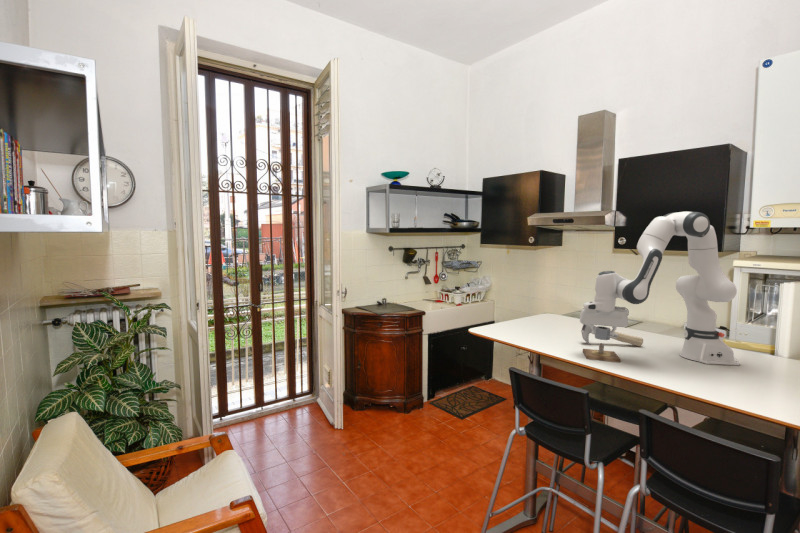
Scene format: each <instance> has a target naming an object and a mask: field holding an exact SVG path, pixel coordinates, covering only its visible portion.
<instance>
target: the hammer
mask: <svg viewBox="0 0 800 533" xmlns="http://www.w3.org/2000/svg"><path fill="white" fill-rule="evenodd" d="M595 327H597V325H594V327H593V329H594V330H595ZM610 331H612V329H610ZM580 332H581V336H582V339H583V341H584V342H586V343H587V344H588V345H589V346H591V344H590V340H589V336H590V334H592V329H591V327H590V325H589V324H582V327H581V330H580ZM610 339H612V340H616V341H618V342H621V343H626V344H628V345H629V344H630V345H632V346H636V347H642V345H643V344H644V338H643V337H640V336H635V335H629V334H627V333H622V332H618V331H616V330H615V331H614V332H613V336H610Z"/></svg>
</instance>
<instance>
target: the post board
mask: <svg viewBox="0 0 800 533" xmlns="http://www.w3.org/2000/svg"><path fill="white" fill-rule="evenodd" d="M604 348H605V345H604V343H602V342H600V343H599V345H598V349H594V348H593V349H591V348H582V353H583V354H584V356H585V358H586V360H594V361H603V362H614V363H621V361H622V359H621V357H620V356H619V355H618V354H617V353H616V352H615V351H614V350H613V351H612V350H604Z"/></svg>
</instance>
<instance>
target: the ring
mask: <svg viewBox="0 0 800 533" xmlns="http://www.w3.org/2000/svg"><path fill="white" fill-rule="evenodd" d="M595 330H596V334H594V338H595V339H597V340H601V341H608V340H609V341H610V340H611V338H610V330H611V328H610V327H609V326H601V325H596V327H595Z"/></svg>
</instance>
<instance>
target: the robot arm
mask: <svg viewBox="0 0 800 533" xmlns="http://www.w3.org/2000/svg"><path fill="white" fill-rule="evenodd" d="M673 236H678V237H686V239H687V256H688V265H689V267H691V268H692V269H693V270H695V271H696V273H697V274H698V275H697V274H688V275H681V276H680V277H679V278H678V279H676V282H675V290H676V291H677V293H678V294H679V295H680V296H681V298H683V301H684V303H685V306H686V311H687V312H686V313H687V314H686V326H685V329H684V335H683V336H684V340H683V345H682V348H681V351H680V353H679V356H681V357H682V358H685V359H688V360H692V361H695V362H699V363H702V364H707V365H726V366H727V365H728V366H730V365H731V366H740V365H741V362H740V361H739V360H738V359H736V358H735V356H734V350H733V348H732V347H731V346H729V345H728V344H726V343H725V341H723V340H721V339H720V338H724V337H725V334H724V332H720V331H718V330H716V328H717V318H718V317H717V316H718V314H717V312H716V311H715V310H714V309H712V308H711V306H710V305H709V303H708V302H712V303H713V302H714V303H729V302H731V301H732V300H733V299H734V298H735V297H736V295H737V286H736V284H735V283H734V282H733V281H732V280H730V279H729V278H728V277H727V276H726V274H725V273H724V272H723V269H722V267H721V265H720V261H719V250H718V249H719V247H718V239H717V234H716V230H715V227H714V226H713V225H711V221H710V219H709V217H708V215H706V214H705V213H703V212H699V211H687V210H686V211H679V212H677V211H676V212H675V211H674V212H673V211H672V212H669V213H667V214H664V215H663V216H662V215H661V216H660V215H659V216H656V217H654V218H653V219H652V220H651V221H650V223H649V224H648V226H646V228H645V230H644V231H643V232H642V234H641V236H640V237H639V239H638V242H637V244H636V250H637V252H638V254H639V255H640V256H641V258H642V265H641V266H640V269H639V270H638V273H637V274H636V277H635V278H634V279H629V278H626V277H623V276H622V275H620V274H619V273H617V272H616V271H615V270H614V271H613V270H606V271H604V270H603V271H600V272H599V273H598V274H597V276H596V278H595V279H596V280H595V287H594V290H595V295H594V299H593V300H591V301H587V302H583V304H582V305H583V308H582V309H581V311H580V314H579V323H581V325H583V324H589V325H590V327H591V329H592V333H591V334H592V335H595V334H596V330H594V329H593V327H594V326H602V327H611V328H612V329H611V331H610V336H613V332H614V331H615V332H616V330H617V328H627V327H628V325H629V318H628V316H629V314H630V313H629V312H630V310H629V309H628V308H626V307H625V306H616V301H617V298H618V299H621V300H623V301H626V302H628V303H630V304H631V305H640V304H643V303H644V302H645V301H647V300H648V298H649V295H650V291H651V290H650V288H651V285H652V282H653V280H654V279H655V276H656V274H657V272H658V270H659V267H660V266H661V263H662V260H663V255H664V253H665V252H664V251H665V250H666V248H667V246H668V244H669V242H670V241H671V239H672V238H673Z"/></svg>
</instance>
